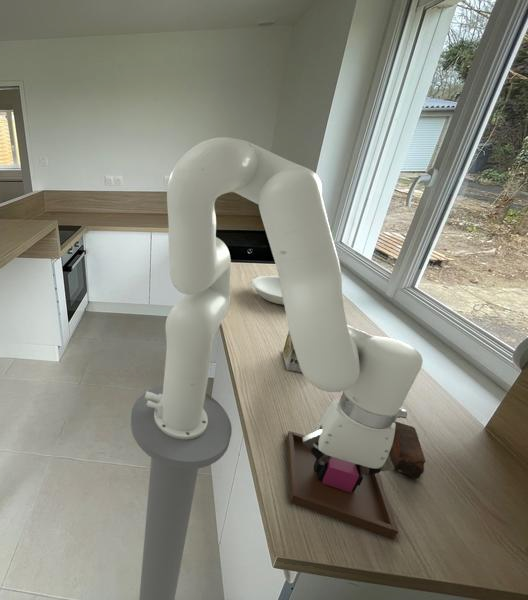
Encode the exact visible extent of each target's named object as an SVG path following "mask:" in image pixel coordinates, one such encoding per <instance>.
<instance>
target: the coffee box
mask: <svg viewBox="0 0 528 600" xmlns="http://www.w3.org/2000/svg"><path fill="white" fill-rule="evenodd" d="M282 357H283V361H284V364H285V368H286V370H288V371H292V372H298V373H302V371H301V368H300V366H299V363H298V359H297V356H296V353H295V350H294V347H293V343H292V339H291V335H290V331H289V330H288V332H287V336H286V340H285V343H284V347H283V351H282Z"/></svg>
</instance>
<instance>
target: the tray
mask: <svg viewBox="0 0 528 600" xmlns="http://www.w3.org/2000/svg"><path fill="white" fill-rule="evenodd" d="M304 436H306V435H305V434H301V433H298V432H294V431H291V430H288V432H287V435H286V451H287V468H288V469H287V470H288V483H289V484H288V485H289V499H290V501H289V502H290V503H291V504H294V505H295V506H296V505H297V506H299V507H302V508H305V509H308V510H310V511H313V512H317V513H319V514H322V515H323V516H324V515H325V516H327V517H330V518H333V519H336V520H339V521H342V522H344V523H347V524H350V525H353V526H355V527H359V528H361V529H364V530H367V531H370V532H372V533H376V534H378V535H381V536H383V537H387V538H389V539H392V540H394V539H395V538H396V536H397V535H398V533H399V529H398V526H397V523H396V520H395V518H394V515H393V511H392V508H391V506H390V503H389V500H388V497H387V494H386V491H385V487H384V485H383V481H382V479H381V476H380V472H379V473H375V474H370V475H369V476H368V478H363V480H362V482H361V484H360V486H358V485H357V487H356V489H355V491H352V492H351V493H350V492H347V491H344V490H341V489H338V488H335V487H332V486H329V485H326V484H323V481H322V480H321V481H320V480H318V478H317V472H314V464H315V461H316V457H315V456H314V455H313V454H312V452H311V450H310V449H308V448H307V447H306V446H305V445H304V444H303V440H302V437H304ZM316 444H317V445H319V444H318V442H316Z"/></svg>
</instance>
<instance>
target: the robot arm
mask: <svg viewBox="0 0 528 600" xmlns="http://www.w3.org/2000/svg"><path fill="white" fill-rule="evenodd" d="M229 193H235V194H236V195H239V196H241V197H243V198H244V199H247V200H249V201H251V202H252V203H255V204H256V205H258V211H259V214H260V217H261V220H262V223H263V224H262V225H263V227H264V230H265V235H266V237H267V240H268V243H269V247H270V251H271V254H272V257H273V260H274V263H275V268H276V271H277V275H278V276H279V278H280V284H281V292H282V297H283V301H284V304H283V306H284V310H285V315H286V321H287V325H288V331H290V335H291V339H292V343H293V347H294V350H295V353H296V356H297V359H298V363H299V366H300V368H301V371H302V372H301V373H302V375H303V376H304V378H305V379H306V380H307V381H308V383H310V384H311V385H312V386H313V387H315V388H317V389H318V390H321V391H324V392H329V393H340V392H342V394H341V396H340V398H335V399H333V401H332V402H331V403H330V404H329V405H328V407H327V408H326V409H325V411H324V413H323V415H322V416H321V418H320V420H319V421H318V424H317V426H316V428H315V431H313V432H310V433H309V434H306V435H305V436H304V437H302V440H303V444H304V445H305V446H306V447H307V448H308V449H310V450H311V452H312V454H313V455H314V456H315V457H316V461H315V464H314V472H317V478H318V480H320V481H321V480H323V478H324V475H325V473H326V471H327V462H328V461H329V460H330V459H331V458H332V457H335V458H338V459H341V460H345V461H348V462H351V463H355V464H356V467H357V470H358V474H359V478H358V480H357V482H356V484H355V486H354V488H353V490H352V491H355V489H356V487H357V485H358V486H360V484H361V482H362V480H363V478H368V476H369V475H370V474H375V473H379V474H380V473H381V472H389V471H395V468H394V465H393V463H392V458H391V456H390V454H391V453H390V450H391V447H392V444H393V440H394V435H395V428H396V424H395V421H396V420H397V419H400V418H401V419H406V418H407V417H408V411H407V409H403V408H402V406H403V404H404V403H405V400H406V398H407V397H408V394H409V392H410V391H411V388H412V386H413V384H414V383H415V380H416V379H417V376H418V375H419V373H420V371H421V369H422V366H423V363H424V362H423V357H422V354H421V353H420V352H419V351H418V350H417V349H416V348H414V347H413V346H412V345H410V344H408V343H406V342H405V341H402V340H398V339H395V338H391V337H386V336H376V335H374V334H370V333H368V332H366V331H363V330H360V329H357V328H355V327H353V326H350V325H348V323H347V318H346V312H345V306H344V298H343V280H342V270H341V269H342V268H341V264H340V263H341V262H340V259H339V255H338V252H337V249H336V245H335V242H334V237H333V235H332V230H331V226H330V223H329V219H328V214H327V211H326V207H325V202H324V199H323V195H322V193H323V186H322V182H321V179H320V177H319V176H318V174H317V173H315V172H314V170H312V169H310V168H308V167H306V166H303V165H301V164H298V163H296V162H293V161H291V160H288V159H287V158H284V157H282V156H280V155H278V154H276V153H274V152H271V151H270V150H267V149H265V148H263V147H261V146H259V145H256V144H254V143H252V142H249V141H247V140H244V139H242V138H241V139H240V138H234V137H228V136H227V137H226V136H219V137H214V138H209V139H206V140H203V141H201V142H199V143H198V144H196V145H194V146H193V147H192V148H190V149H189V150H188V151H185V153H184V154H183V155H182V156H181V157H180V159H179V160H178V161H177V162H176V163H175V165H174V167H173V168H172V171H171V172H170V175H169V178H168V182H167V186H166V206H167V220H168V221H167V222H168V258H169V261H168V262H169V264H168V265H169V276H170V280H171V283H172V286H173V287H174V288H175V290H177V291H178V292H179V293H181V294H183V295H184V296H183V297H182V298H181V299H180V300H179V301H177V302H176V304H175V305H174V306H173V307H172V308H171V309H170V311H169V312H168V314H167V317H166V320H165V326H164V329H165V339H166V350H165V364H164V374H163V375H164V376H163V385H162V386H163V394H159V395H156V394H154V393H151V392H148V390H146V391H145V392H146V394H145V399H147V400H150V401H147V406H148V407H151V408H155V411H154V419H155V422H156V424H157V426H158V427H159V428H160V429H161V430H162V431H163V432H164V433H165V434H167V435H169V436H171V437H174V438H177V439H193V438H196V437H198V436H200V435H201V434H202V433H204V431H205V430H206V427H207V423H208V417H207V414H206V412H205V410H204V409H203V406H204V400H205V394H207V387H208V382H209V377H210V369H211V364H212V363H211V362H212V353H213V351H212V350H213V349H212V345H213V340H214V337H215V334H216V332H217V331H218V328H220V326H221V324H222V322H223V321H224V320H225V318H226V316H227V315H228V312H229V310H230V302H231V301H230V300H231V274H232V259H231V254H230V251H229V248H228V246H227V245H226V243H225V242H224V241H223V240H222V239H220V238H219V237H217V215H216V209H215V203H216V200H217V199H218V198H219V197H220V196H223V195H225V194H229ZM152 401H155V402H157V403H154V402H152ZM396 422H397V421H396ZM316 442H318V444H319V445H317V444H316Z"/></svg>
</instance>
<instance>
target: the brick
mask: <svg viewBox="0 0 528 600" xmlns="http://www.w3.org/2000/svg"><path fill="white" fill-rule="evenodd" d="M395 424H396V428H395V435H394V440H393V444H392V447H391V450H390V453H389V454H390V459H391V461H392V463H393V465H394V468H395V469H394V471H396V472H399V473H402V474H405V475H407V476H409V477H411V478H412V479H413V480H415V479H417V480H418V479H420V478H421V476H422V475H423V474H424V471H425V468H424V466H425V463H426V457H425V455H424V451H423V449H422V445H421V442H420V439H419V436H418V433H417V430H416V428H415V427H414V426H412V425H409V424H405V423H402V422H399V421H395Z"/></svg>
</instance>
